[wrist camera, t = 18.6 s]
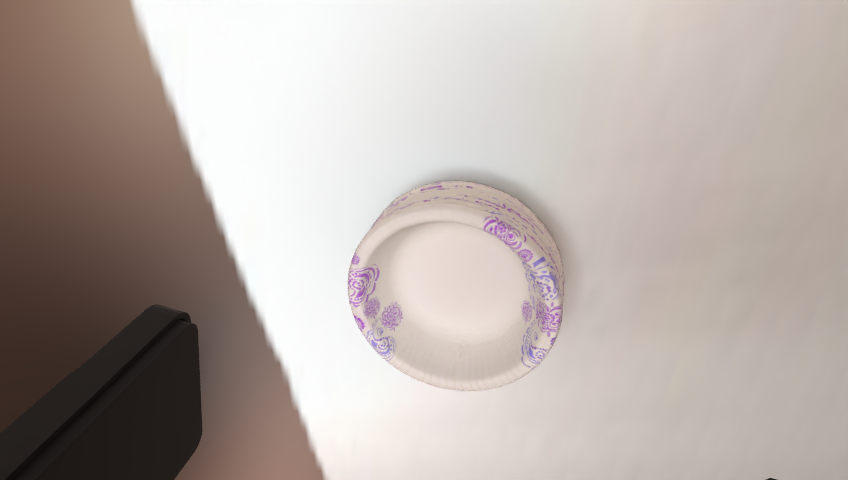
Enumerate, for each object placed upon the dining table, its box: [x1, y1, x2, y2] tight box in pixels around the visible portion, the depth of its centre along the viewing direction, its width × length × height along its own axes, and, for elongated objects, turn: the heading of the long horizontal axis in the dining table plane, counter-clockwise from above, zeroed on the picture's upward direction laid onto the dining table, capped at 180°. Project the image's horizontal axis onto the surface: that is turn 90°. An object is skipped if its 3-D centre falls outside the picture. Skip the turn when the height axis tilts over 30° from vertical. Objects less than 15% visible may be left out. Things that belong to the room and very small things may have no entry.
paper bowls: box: [348, 181, 564, 391], centre depth 43 cm, size 15×15×8 cm
